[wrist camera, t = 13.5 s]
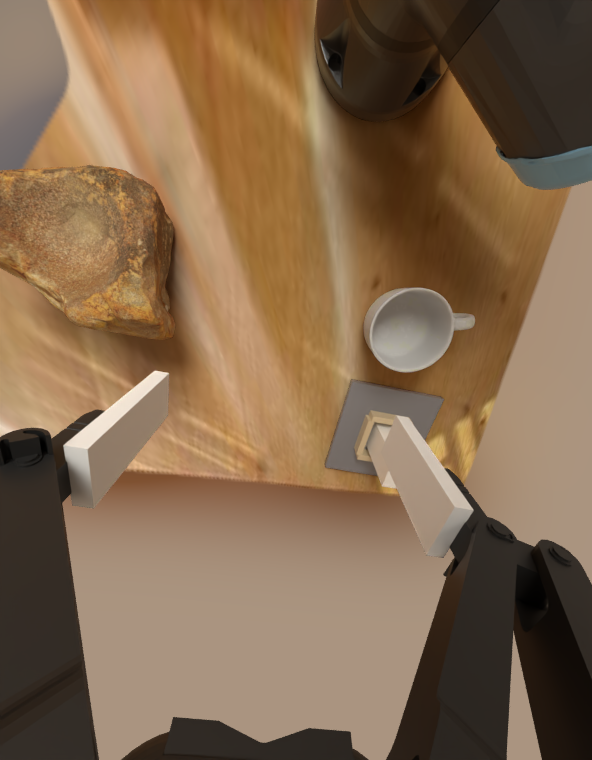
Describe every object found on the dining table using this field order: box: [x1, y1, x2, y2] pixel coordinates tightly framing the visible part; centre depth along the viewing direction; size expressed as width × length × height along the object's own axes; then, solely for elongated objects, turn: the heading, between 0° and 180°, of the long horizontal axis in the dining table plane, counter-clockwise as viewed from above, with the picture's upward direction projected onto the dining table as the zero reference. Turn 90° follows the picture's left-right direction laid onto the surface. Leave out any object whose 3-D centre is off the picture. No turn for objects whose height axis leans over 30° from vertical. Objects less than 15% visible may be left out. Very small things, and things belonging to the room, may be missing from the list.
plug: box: [366, 422, 397, 489], centre depth 45 cm, size 5×4×10 cm
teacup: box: [363, 288, 475, 372], centre depth 39 cm, size 14×11×8 cm
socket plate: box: [325, 379, 444, 476], centre depth 50 cm, size 18×16×3 cm
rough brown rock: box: [0, 165, 175, 340], centre depth 32 cm, size 23×17×15 cm
